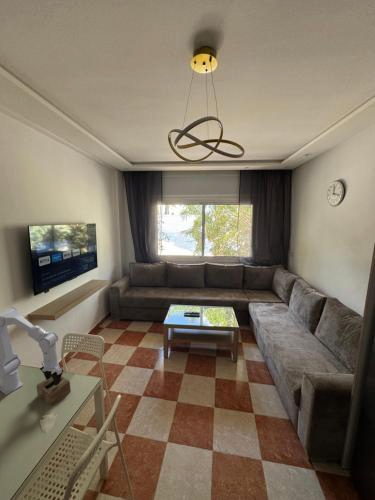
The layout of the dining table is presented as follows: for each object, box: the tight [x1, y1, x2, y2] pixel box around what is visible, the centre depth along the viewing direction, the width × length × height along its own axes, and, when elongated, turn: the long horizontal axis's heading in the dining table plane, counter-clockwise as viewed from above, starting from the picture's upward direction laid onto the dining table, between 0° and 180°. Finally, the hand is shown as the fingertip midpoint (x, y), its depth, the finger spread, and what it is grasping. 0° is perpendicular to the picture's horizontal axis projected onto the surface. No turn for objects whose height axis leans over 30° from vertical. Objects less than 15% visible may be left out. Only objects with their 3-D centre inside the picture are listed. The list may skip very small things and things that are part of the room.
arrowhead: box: [39, 412, 58, 434], centre depth 100 cm, size 7×2×10 cm
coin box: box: [36, 375, 71, 406], centre depth 116 cm, size 12×10×6 cm
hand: (53, 381), depth 115 cm, fingers open, 7 cm apart
